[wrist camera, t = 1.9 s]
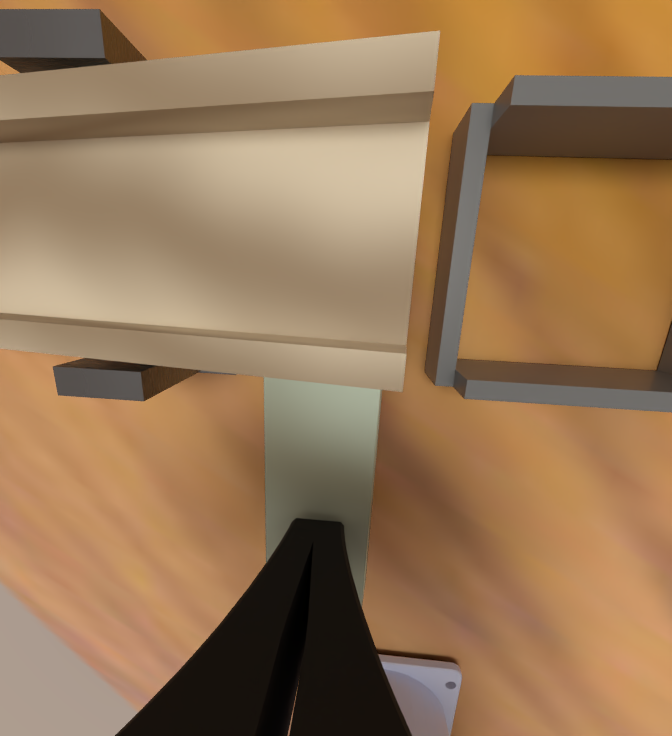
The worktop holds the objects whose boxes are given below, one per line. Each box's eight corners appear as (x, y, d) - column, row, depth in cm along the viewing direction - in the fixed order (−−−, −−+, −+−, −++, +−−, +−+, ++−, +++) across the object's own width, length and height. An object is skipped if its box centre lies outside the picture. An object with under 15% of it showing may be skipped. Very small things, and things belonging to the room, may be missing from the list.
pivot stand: (239, 372, 13) (174, 419, 8) (146, 366, 13) (33, 408, 9) (231, 111, 11) (134, -21, 6) (118, 109, 11) (-56, -19, 6)
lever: (381, 584, 10) (374, 674, 8) (-4, 498, 13) (-94, 544, 11) (430, 101, 7) (443, 3, 5) (-99, 134, 10) (-257, 85, 8)
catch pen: (668, 386, 12) (815, 434, 8) (424, 372, 13) (453, 409, 9) (749, 139, 10) (996, 47, 6) (453, 133, 10) (508, 44, 7)
